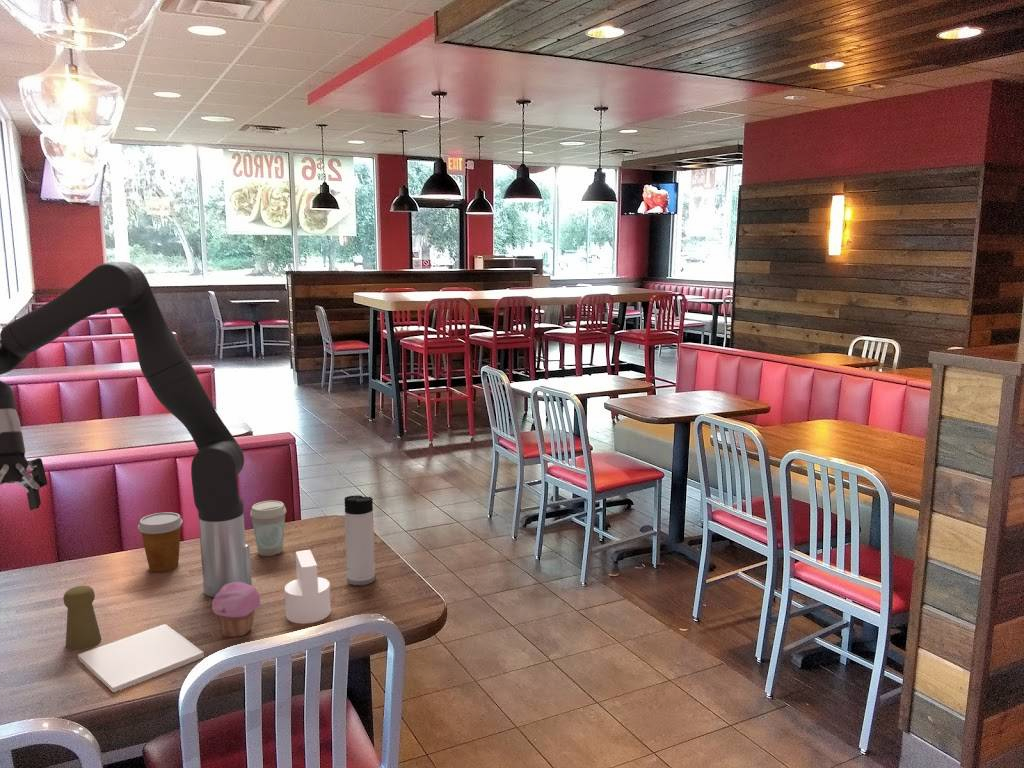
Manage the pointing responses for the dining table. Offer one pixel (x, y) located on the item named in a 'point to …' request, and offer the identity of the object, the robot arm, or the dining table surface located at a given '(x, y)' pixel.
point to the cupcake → (235, 608)
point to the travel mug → (359, 540)
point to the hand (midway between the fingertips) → (14, 512)
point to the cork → (81, 618)
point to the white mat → (140, 657)
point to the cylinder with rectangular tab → (307, 592)
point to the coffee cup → (268, 526)
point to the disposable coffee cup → (161, 540)
